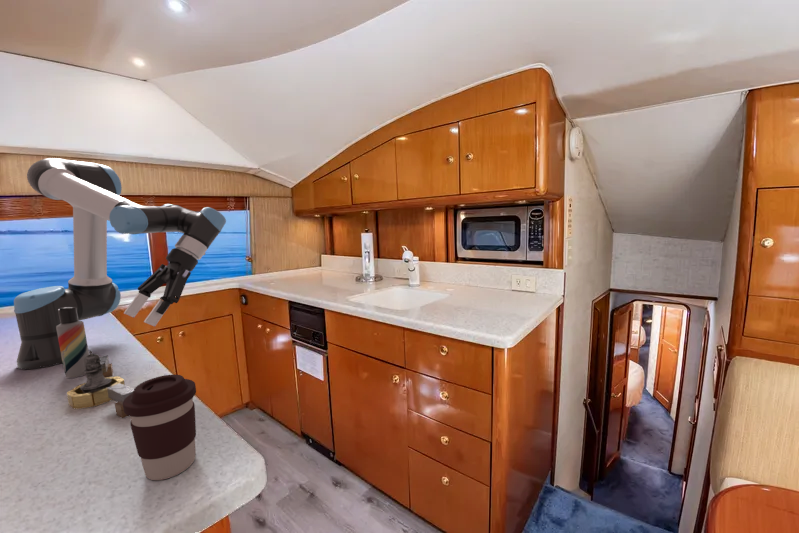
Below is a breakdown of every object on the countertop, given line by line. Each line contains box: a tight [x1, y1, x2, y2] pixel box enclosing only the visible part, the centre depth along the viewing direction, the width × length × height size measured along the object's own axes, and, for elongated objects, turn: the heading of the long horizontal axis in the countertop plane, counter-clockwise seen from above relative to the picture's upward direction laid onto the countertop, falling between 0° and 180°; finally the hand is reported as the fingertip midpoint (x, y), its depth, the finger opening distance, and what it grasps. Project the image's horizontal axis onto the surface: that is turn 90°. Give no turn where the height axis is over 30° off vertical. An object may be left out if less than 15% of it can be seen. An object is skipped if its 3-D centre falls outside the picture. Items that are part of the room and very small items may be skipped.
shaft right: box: [107, 383, 135, 419], centre depth 78 cm, size 8×4×5 cm, turn 60°
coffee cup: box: [123, 374, 197, 481], centre depth 58 cm, size 10×10×15 cm
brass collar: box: [66, 375, 126, 410], centre depth 85 cm, size 10×10×3 cm
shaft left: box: [99, 354, 114, 378], centre depth 96 cm, size 8×4×5 cm, turn 36°
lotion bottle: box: [56, 307, 90, 379], centre depth 99 cm, size 6×6×20 cm
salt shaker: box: [80, 350, 112, 394], centre depth 84 cm, size 6×6×12 cm
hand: (138, 319), depth 93 cm, fingers open, 13 cm apart
